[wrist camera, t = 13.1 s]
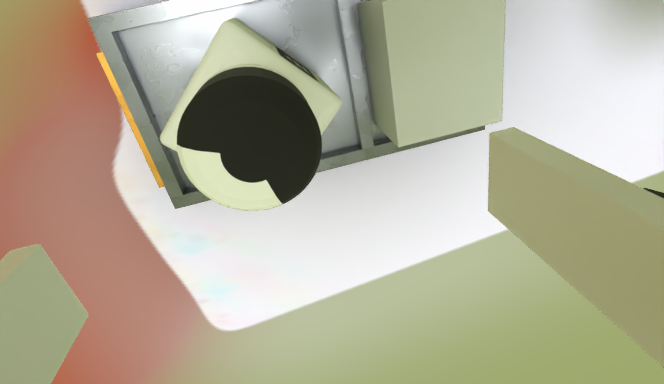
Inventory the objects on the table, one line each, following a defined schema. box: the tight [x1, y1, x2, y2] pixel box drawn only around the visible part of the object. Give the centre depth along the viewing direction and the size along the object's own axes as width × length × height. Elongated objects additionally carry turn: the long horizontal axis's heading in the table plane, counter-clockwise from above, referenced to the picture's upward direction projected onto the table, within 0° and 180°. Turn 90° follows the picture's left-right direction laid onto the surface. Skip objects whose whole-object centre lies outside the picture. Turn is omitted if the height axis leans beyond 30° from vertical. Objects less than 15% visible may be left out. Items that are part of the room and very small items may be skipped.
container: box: [160, 18, 342, 211], centre depth 22 cm, size 8×8×13 cm
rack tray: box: [87, 0, 485, 209], centre depth 28 cm, size 14×27×3 cm, turn 101°
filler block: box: [357, 0, 505, 147], centre depth 26 cm, size 9×8×6 cm
